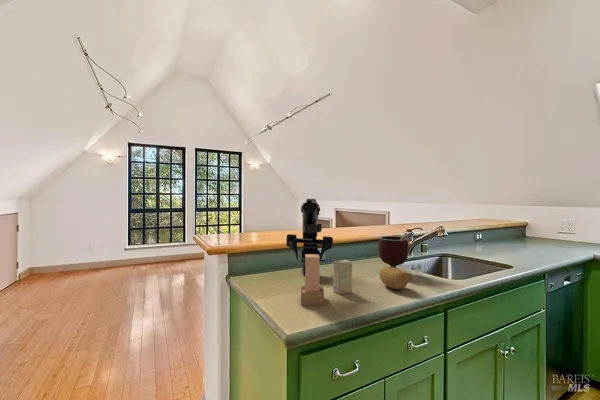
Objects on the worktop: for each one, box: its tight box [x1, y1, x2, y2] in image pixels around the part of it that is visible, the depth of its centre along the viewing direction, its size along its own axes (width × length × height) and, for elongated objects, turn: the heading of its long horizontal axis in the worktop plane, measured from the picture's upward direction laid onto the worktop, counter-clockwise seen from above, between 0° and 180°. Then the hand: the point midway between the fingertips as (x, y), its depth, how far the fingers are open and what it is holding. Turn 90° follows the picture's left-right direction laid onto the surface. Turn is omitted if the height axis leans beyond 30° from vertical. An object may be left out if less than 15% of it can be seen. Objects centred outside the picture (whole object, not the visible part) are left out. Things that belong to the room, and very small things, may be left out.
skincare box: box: [332, 259, 353, 295], centre depth 112 cm, size 6×4×12 cm
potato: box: [379, 266, 410, 290], centre depth 116 cm, size 10×14×8 cm
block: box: [304, 254, 321, 291], centre depth 102 cm, size 5×5×12 cm
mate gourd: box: [378, 232, 413, 272], centre depth 138 cm, size 16×14×20 cm
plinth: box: [300, 285, 325, 306], centre depth 102 cm, size 8×8×4 cm
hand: (308, 260), depth 111 cm, fingers open, 9 cm apart
